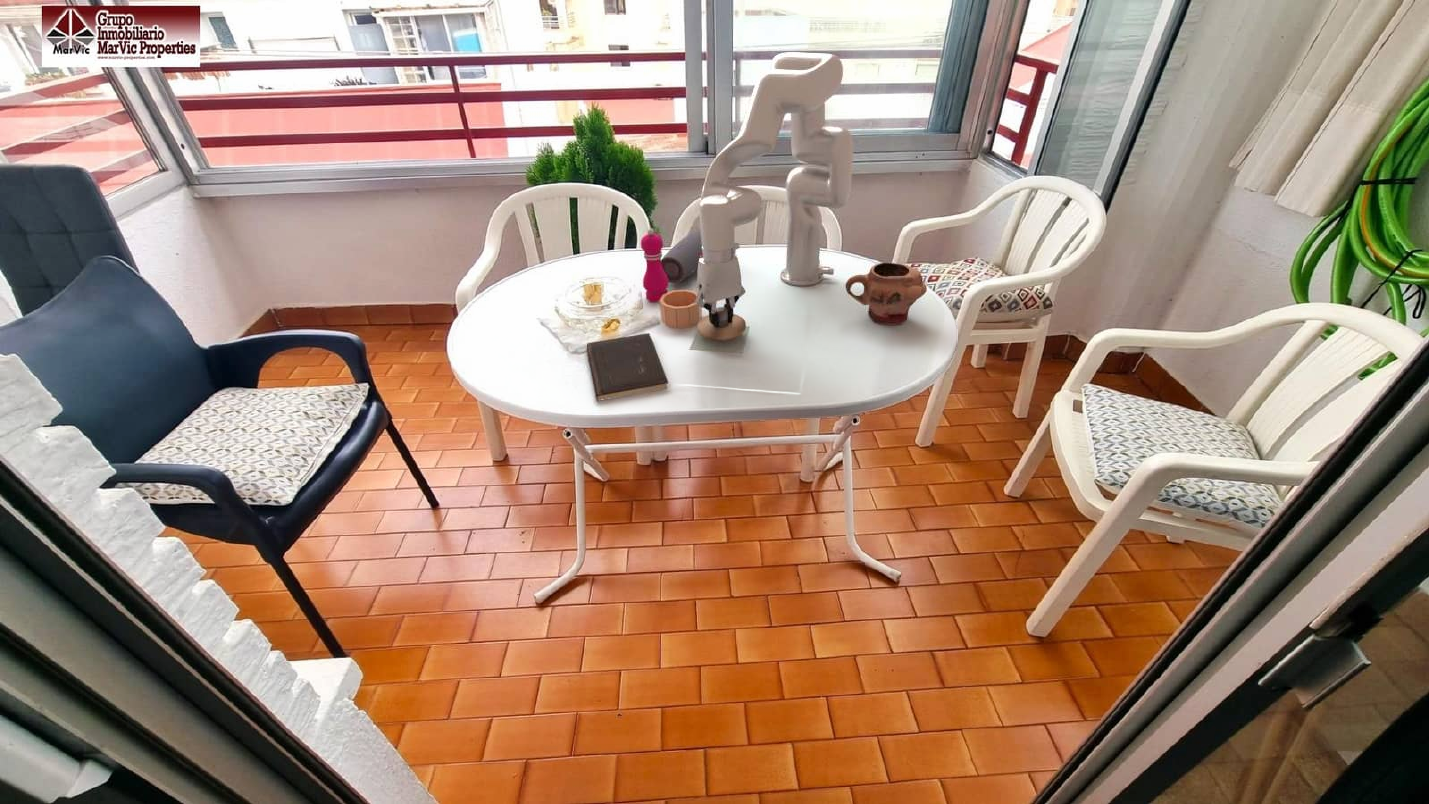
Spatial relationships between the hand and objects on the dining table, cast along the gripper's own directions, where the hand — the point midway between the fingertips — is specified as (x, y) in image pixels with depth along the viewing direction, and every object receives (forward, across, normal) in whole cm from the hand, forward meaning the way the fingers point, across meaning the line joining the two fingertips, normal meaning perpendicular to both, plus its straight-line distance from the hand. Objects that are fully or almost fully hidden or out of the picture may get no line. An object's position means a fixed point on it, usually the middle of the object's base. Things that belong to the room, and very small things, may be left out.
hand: (721, 322), depth 143 cm
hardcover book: (+5, +26, +1) cm, 27 cm away
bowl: (+5, +5, -14) cm, 16 cm away
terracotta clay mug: (+6, -41, +12) cm, 43 cm away
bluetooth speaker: (+5, -9, -41) cm, 42 cm away
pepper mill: (+5, +6, -30) cm, 31 cm away
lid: (+1, 0, 0) cm, 1 cm away
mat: (+4, +1, 0) cm, 4 cm away
